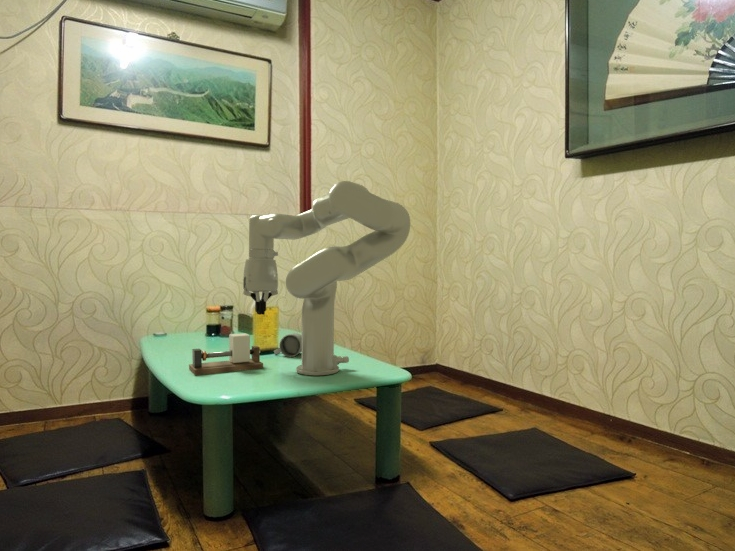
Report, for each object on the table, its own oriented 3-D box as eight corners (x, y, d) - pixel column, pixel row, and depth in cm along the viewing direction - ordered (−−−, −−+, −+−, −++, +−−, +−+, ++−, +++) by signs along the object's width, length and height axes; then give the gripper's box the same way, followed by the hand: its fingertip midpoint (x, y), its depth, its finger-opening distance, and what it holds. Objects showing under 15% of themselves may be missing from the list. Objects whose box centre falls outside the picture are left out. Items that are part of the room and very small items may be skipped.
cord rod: (252, 360, 158) (252, 344, 158) (255, 362, 155) (255, 345, 155) (192, 365, 149) (192, 349, 149) (194, 367, 147) (194, 350, 146)
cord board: (254, 362, 161) (254, 344, 161) (263, 368, 154) (263, 348, 153) (189, 369, 152) (188, 349, 152) (194, 375, 144) (194, 354, 144)
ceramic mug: (306, 352, 179) (306, 331, 179) (301, 357, 171) (300, 334, 171) (277, 352, 180) (277, 331, 180) (270, 357, 172) (270, 334, 172)
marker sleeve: (245, 358, 158) (245, 333, 158) (249, 361, 154) (249, 335, 153) (229, 359, 155) (229, 334, 155) (233, 362, 151) (233, 336, 151)
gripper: (280, 255, 164) (279, 312, 165) (234, 254, 157) (233, 313, 157) (288, 255, 157) (287, 314, 158) (240, 254, 150) (239, 316, 151)
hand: (260, 314), depth 158 cm, fingers closed
